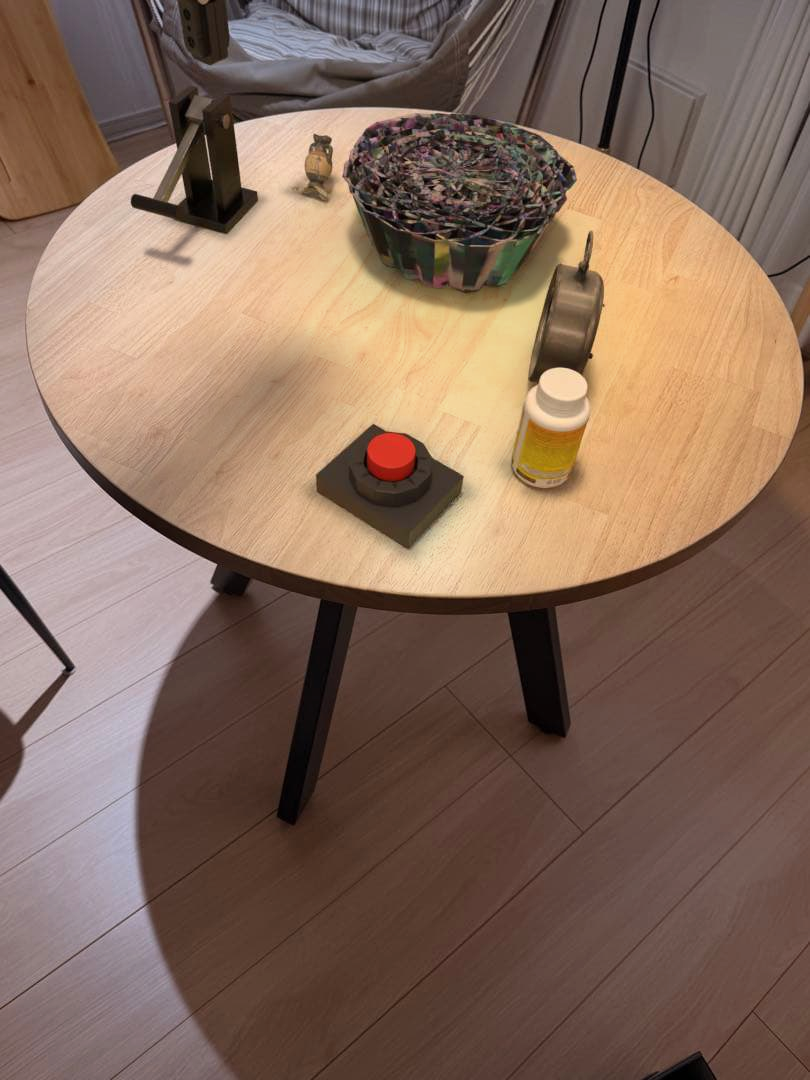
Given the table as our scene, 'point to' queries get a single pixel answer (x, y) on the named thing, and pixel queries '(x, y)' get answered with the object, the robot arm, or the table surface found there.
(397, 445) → the button
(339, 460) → the control block
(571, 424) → the supplement bottle
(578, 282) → the alarm clock
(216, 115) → the bracket
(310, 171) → the vase
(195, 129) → the lever
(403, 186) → the decorative bowl
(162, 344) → the table surface
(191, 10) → the robot arm
